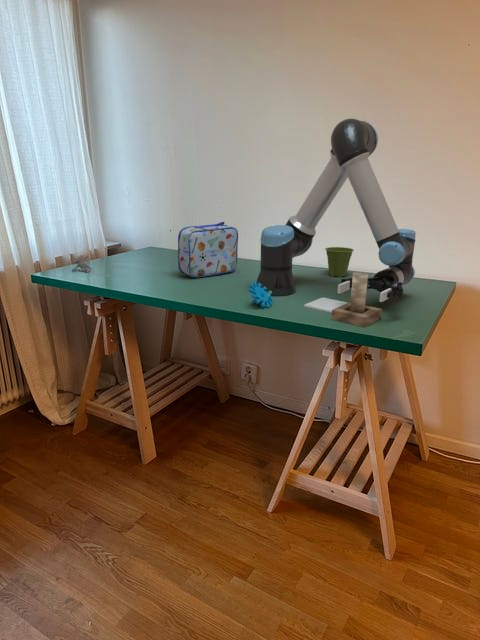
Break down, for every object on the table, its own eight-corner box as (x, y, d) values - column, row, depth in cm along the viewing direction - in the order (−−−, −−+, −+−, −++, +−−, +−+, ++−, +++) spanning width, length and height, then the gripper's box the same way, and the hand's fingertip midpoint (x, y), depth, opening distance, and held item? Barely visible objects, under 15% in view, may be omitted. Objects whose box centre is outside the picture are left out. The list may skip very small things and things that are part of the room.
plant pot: (357, 275, 192) (359, 249, 189) (340, 279, 185) (343, 252, 181) (334, 270, 201) (336, 245, 197) (317, 274, 193) (319, 248, 189)
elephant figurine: (78, 275, 191) (65, 265, 194) (85, 282, 196) (72, 272, 200) (94, 258, 193) (81, 249, 197) (101, 266, 198) (88, 256, 202)
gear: (261, 306, 144) (246, 281, 146) (249, 317, 147) (235, 291, 150) (281, 303, 152) (266, 279, 155) (269, 313, 155) (255, 289, 158)
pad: (303, 306, 150) (303, 304, 149) (322, 298, 158) (322, 297, 158) (335, 314, 142) (336, 312, 142) (353, 305, 151) (353, 303, 151)
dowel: (346, 319, 138) (350, 274, 133) (353, 315, 141) (357, 271, 136) (359, 322, 135) (364, 276, 130) (366, 318, 138) (370, 274, 134)
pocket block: (331, 319, 137) (332, 309, 136) (348, 311, 145) (349, 302, 144) (364, 327, 131) (365, 317, 130) (380, 318, 139) (382, 308, 138)
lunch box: (227, 267, 205) (227, 218, 198) (242, 272, 198) (242, 221, 191) (176, 276, 189) (173, 223, 182) (189, 281, 181) (188, 226, 174)
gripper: (424, 297, 143) (398, 313, 128) (352, 284, 159) (321, 297, 143) (427, 274, 141) (401, 288, 126) (354, 263, 156) (323, 274, 141)
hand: (359, 293), depth 134 cm, fingers open, 13 cm apart
